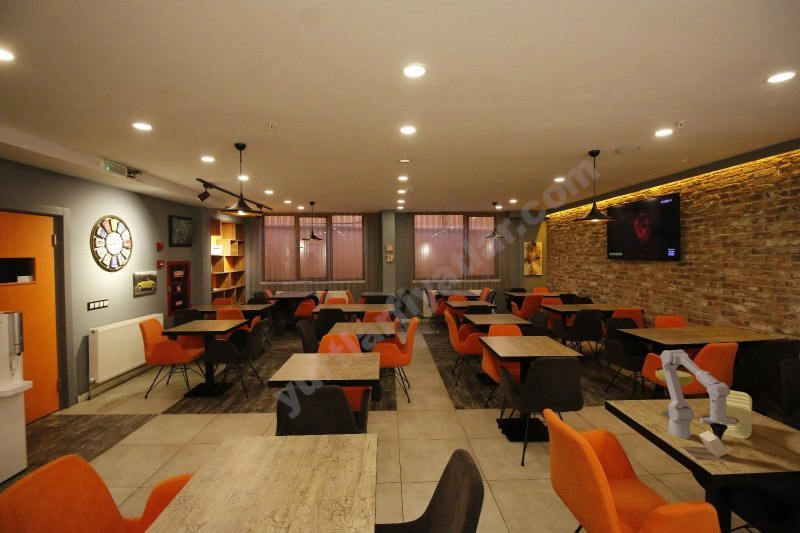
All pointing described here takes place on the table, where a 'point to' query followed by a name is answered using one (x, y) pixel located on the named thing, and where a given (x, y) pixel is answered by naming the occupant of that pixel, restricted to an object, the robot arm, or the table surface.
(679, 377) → the cocktail glass
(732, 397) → the slatted curved stool
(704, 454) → the brown flat slab
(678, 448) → the table surface
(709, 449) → the carton
